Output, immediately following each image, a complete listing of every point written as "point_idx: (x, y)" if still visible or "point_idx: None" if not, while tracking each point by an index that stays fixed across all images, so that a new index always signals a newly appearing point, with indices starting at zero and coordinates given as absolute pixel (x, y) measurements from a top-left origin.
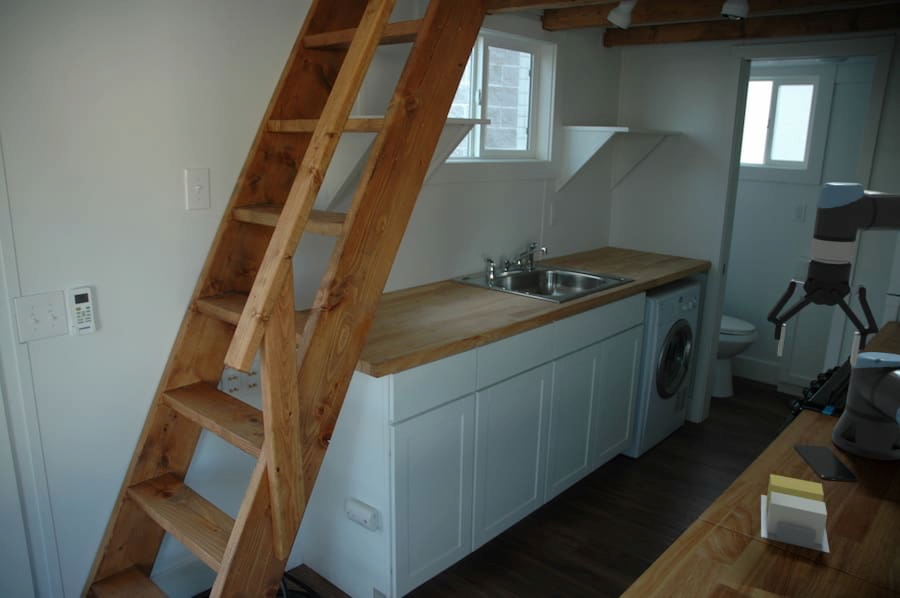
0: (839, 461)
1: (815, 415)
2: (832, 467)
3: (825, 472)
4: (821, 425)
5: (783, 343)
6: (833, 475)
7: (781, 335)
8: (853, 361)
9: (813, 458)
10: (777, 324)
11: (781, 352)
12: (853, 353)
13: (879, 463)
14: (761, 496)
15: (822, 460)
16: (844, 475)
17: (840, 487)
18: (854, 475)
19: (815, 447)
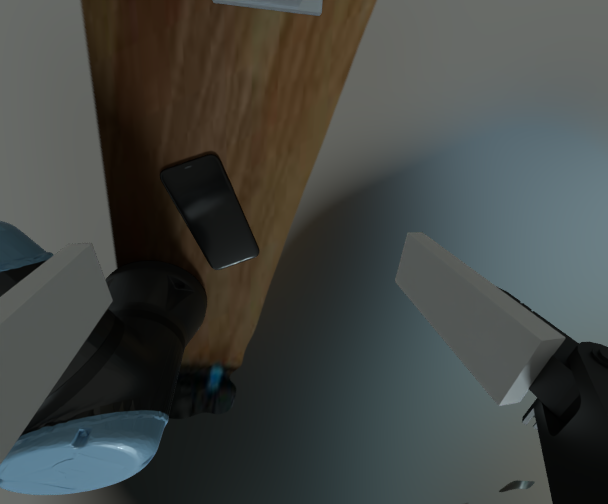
0: (192, 226)
1: (230, 357)
2: (201, 199)
3: (211, 174)
4: (221, 333)
5: (448, 265)
6: (198, 168)
7: (500, 292)
8: (70, 256)
9: (231, 219)
10: (605, 349)
11: (420, 241)
12: (44, 283)
13: (134, 252)
14: (321, 2)
15: (217, 218)
16: (181, 176)
17: (185, 133)
18: (166, 184)
19: (228, 259)
